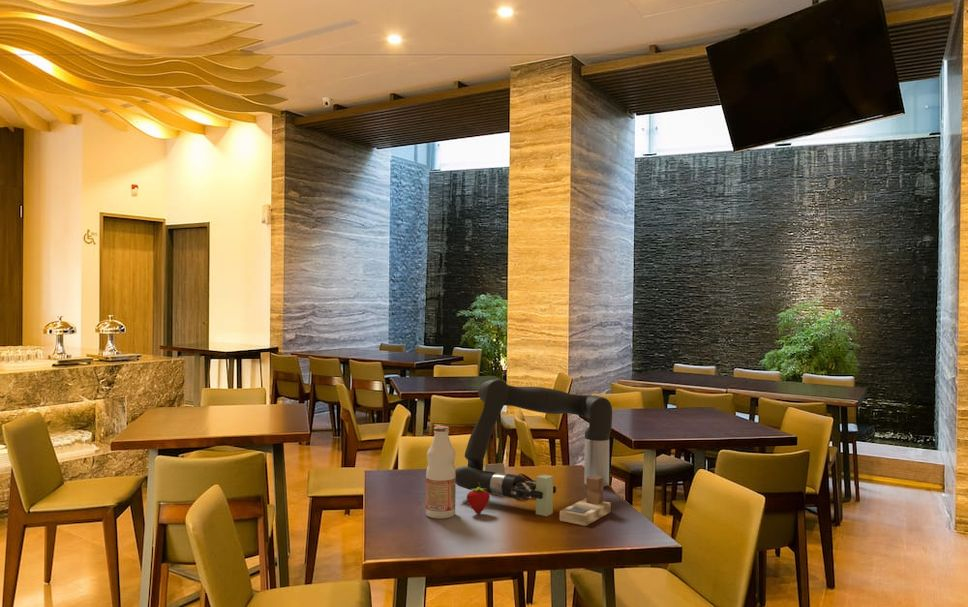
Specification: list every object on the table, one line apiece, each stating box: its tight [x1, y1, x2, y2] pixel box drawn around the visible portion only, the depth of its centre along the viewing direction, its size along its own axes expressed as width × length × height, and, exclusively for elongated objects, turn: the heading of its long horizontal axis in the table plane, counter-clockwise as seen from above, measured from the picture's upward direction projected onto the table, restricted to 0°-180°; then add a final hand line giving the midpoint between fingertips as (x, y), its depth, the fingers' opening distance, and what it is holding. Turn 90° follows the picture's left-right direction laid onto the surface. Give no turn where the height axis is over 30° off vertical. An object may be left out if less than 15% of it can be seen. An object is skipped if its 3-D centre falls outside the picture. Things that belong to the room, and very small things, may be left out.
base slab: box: [559, 476, 612, 527], centre depth 219 cm, size 18×9×11 cm, turn 145°
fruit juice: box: [425, 425, 457, 520], centre depth 219 cm, size 9×9×28 cm
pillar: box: [535, 473, 554, 517], centre depth 221 cm, size 4×4×12 cm
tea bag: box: [484, 463, 506, 473], centre depth 248 cm, size 4×7×10 cm, turn 106°
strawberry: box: [466, 482, 490, 515], centre depth 220 cm, size 6×8×10 cm
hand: (549, 492), depth 220 cm, fingers open, 8 cm apart
